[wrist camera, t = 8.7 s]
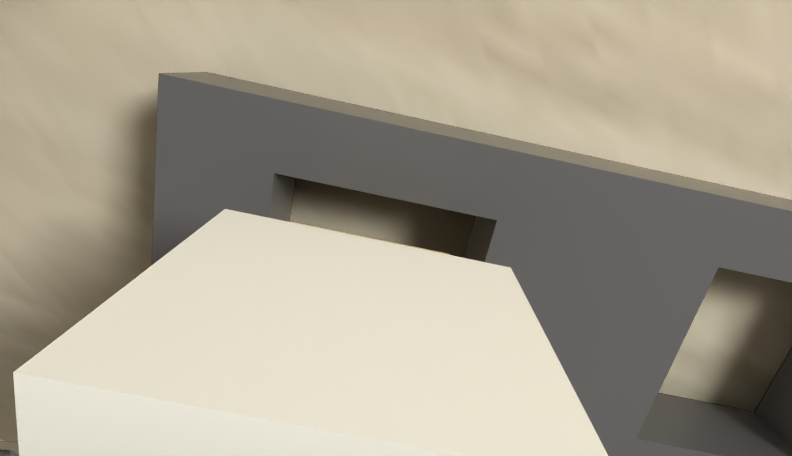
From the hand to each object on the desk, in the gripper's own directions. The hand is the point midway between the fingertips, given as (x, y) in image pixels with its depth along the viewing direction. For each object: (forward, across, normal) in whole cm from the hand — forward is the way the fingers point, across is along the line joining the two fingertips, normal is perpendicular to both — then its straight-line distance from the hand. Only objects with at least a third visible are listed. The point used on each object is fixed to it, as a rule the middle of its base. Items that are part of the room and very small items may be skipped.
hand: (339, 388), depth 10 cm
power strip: (+7, -7, 0) cm, 10 cm away
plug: (+3, 0, 0) cm, 3 cm away
